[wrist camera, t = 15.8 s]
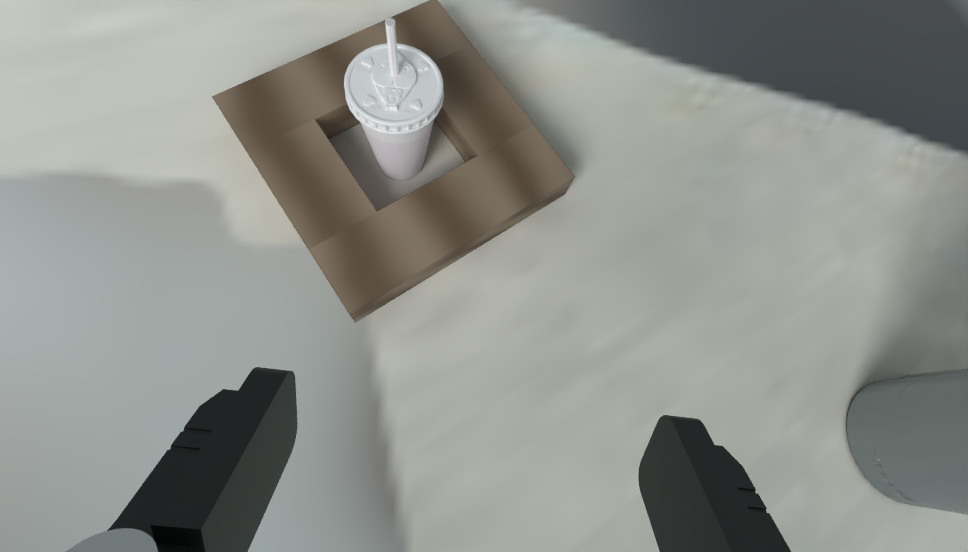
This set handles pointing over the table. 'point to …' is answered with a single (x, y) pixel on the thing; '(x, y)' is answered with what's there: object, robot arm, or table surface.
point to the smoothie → (395, 102)
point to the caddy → (426, 211)
